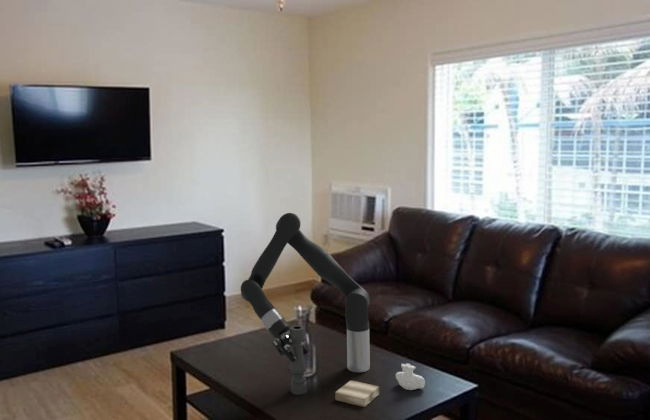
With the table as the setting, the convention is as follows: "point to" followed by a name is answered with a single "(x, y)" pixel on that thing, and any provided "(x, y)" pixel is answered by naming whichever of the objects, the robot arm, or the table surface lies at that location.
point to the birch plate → (357, 393)
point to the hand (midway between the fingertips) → (300, 357)
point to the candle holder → (298, 360)
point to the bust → (409, 378)
